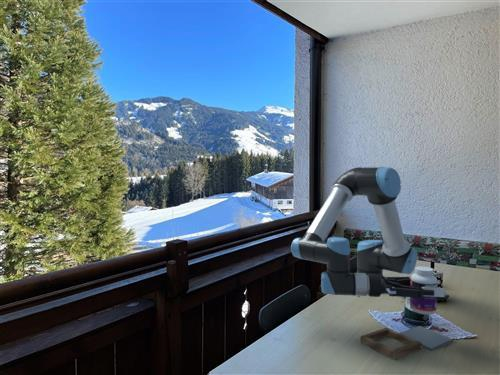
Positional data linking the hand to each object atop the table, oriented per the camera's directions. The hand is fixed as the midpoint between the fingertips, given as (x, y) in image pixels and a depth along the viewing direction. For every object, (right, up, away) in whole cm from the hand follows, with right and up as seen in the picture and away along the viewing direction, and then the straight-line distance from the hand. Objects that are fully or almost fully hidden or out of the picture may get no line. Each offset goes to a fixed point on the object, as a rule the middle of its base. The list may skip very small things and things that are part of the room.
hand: (438, 288), depth 117 cm
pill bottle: (-5, -8, +1) cm, 9 cm away
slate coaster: (-4, -17, +2) cm, 18 cm away
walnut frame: (-17, -18, -3) cm, 25 cm away
